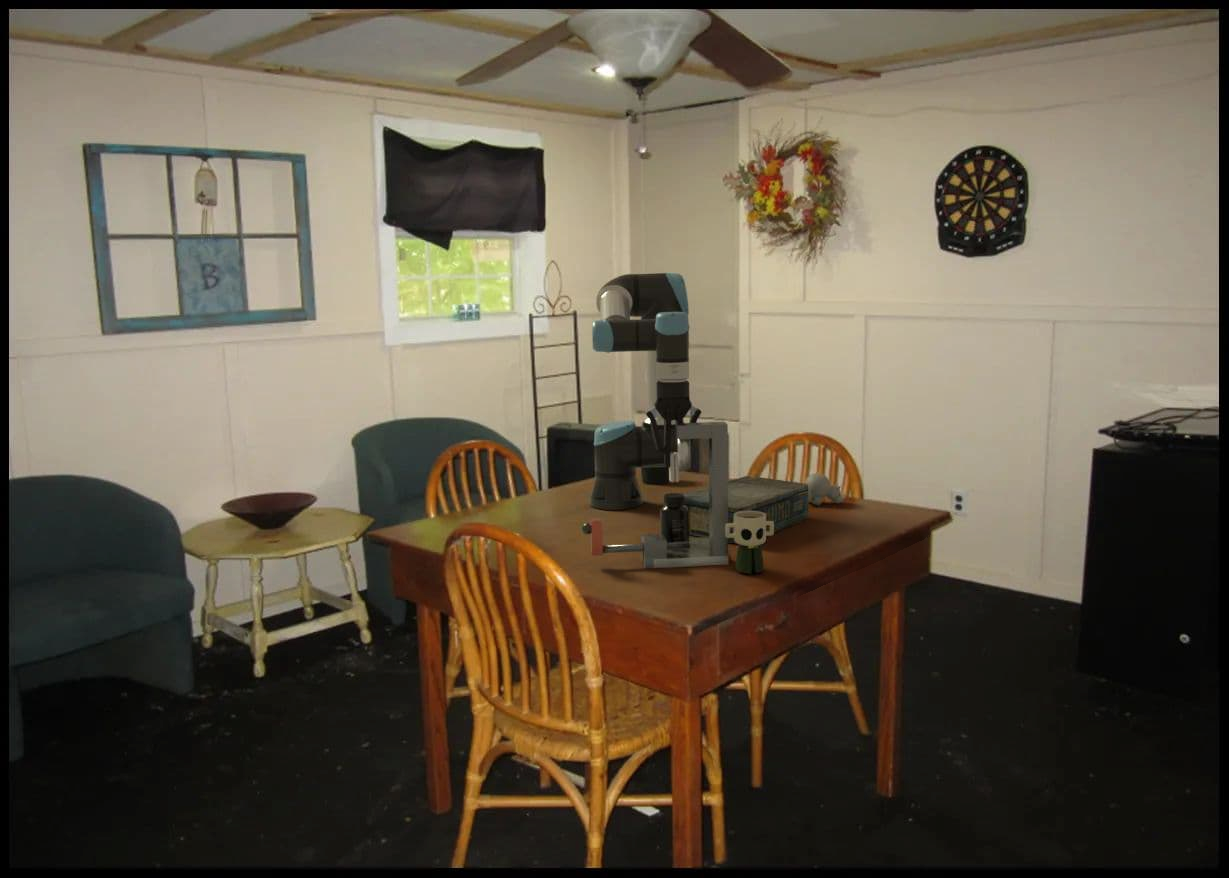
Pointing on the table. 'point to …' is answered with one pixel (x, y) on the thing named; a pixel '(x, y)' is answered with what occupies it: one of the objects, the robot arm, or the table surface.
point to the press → (716, 544)
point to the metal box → (752, 503)
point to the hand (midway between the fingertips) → (674, 480)
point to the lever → (599, 549)
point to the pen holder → (655, 475)
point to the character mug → (749, 539)
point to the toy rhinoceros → (822, 489)
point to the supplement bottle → (674, 518)
